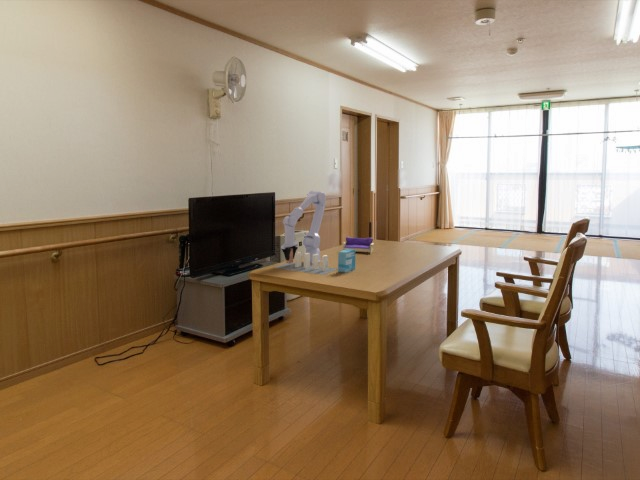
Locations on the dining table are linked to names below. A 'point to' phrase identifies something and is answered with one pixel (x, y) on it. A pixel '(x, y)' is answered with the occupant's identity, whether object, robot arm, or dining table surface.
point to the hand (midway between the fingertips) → (289, 259)
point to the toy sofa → (358, 244)
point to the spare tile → (290, 257)
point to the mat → (302, 269)
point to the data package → (346, 260)
